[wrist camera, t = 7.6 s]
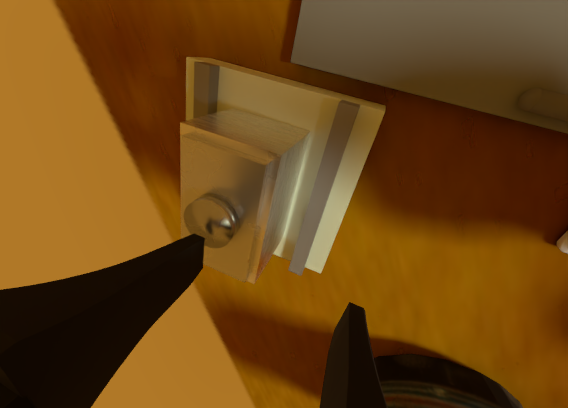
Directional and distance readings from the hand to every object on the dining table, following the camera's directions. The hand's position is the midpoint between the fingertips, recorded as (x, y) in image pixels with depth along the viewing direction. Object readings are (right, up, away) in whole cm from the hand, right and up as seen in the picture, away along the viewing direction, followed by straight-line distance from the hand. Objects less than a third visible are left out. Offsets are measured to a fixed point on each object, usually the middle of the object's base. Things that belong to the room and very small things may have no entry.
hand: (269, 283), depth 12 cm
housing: (-1, +5, +6) cm, 8 cm away
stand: (0, +6, +8) cm, 10 cm away
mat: (+10, +14, 0) cm, 17 cm away
